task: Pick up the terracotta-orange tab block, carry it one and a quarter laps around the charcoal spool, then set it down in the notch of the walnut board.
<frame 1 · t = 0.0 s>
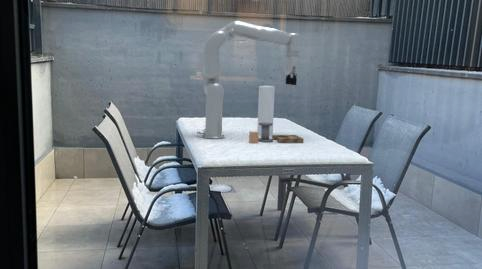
hand: (290, 84, 267), 31 cm above the table, tool pointing down, fingers open, 9 cm apart
board: (287, 141, 257), on the table
tab: (253, 142, 248), on the table
spool: (265, 141, 255), on the table
white tall cylinder: (264, 135, 278), on the table
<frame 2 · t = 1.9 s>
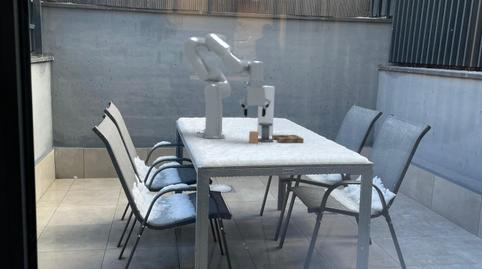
hand: (254, 116, 246), 14 cm above the table, tool pointing down, fingers open, 9 cm apart
nothing on the table moved.
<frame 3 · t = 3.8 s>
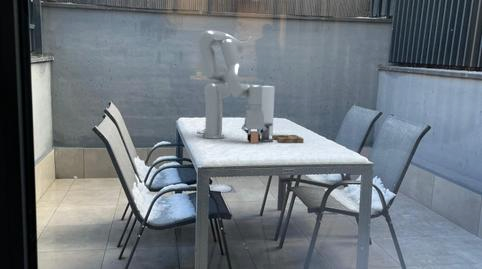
hand: (253, 141, 247), 1 cm above the table, tool pointing down, fingers closed on tab, 3 cm apart
tab: (253, 142, 247), on the table, touching gripper
everything else where it was.
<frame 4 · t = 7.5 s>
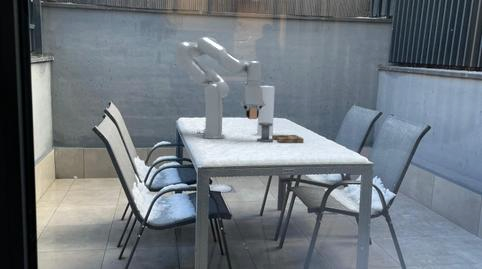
hand: (252, 117, 251), 13 cm above the table, tool pointing down, fingers closed on tab, 4 cm apart
tab: (252, 118, 251), point 12 cm above the table, touching gripper
everything else where it was.
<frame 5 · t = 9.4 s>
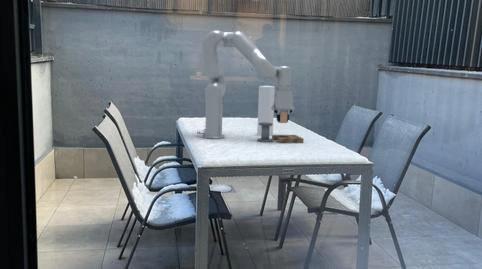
hand: (282, 121, 255), 11 cm above the table, tool pointing down, fingers closed on tab, 4 cm apart
tab: (282, 122, 255), point 10 cm above the table, touching gripper
everything else where it was.
when the fingers open (3 cm above the table, at t = 11.0 s): tab drops 2 cm, resting in board.
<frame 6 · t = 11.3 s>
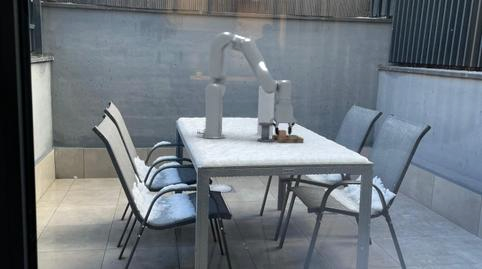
hand: (283, 134, 256), 4 cm above the table, tool pointing down, fingers open, 6 cm apart
tab: (281, 141, 257), resting in board
everything else where it was.
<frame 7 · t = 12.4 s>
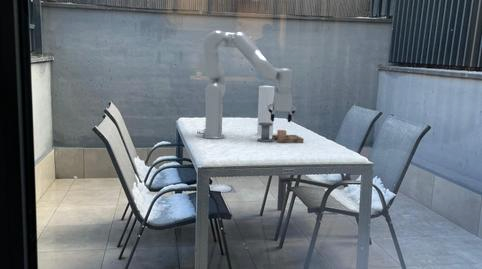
hand: (280, 121, 255), 11 cm above the table, tool pointing down, fingers open, 9 cm apart
nothing on the table moved.
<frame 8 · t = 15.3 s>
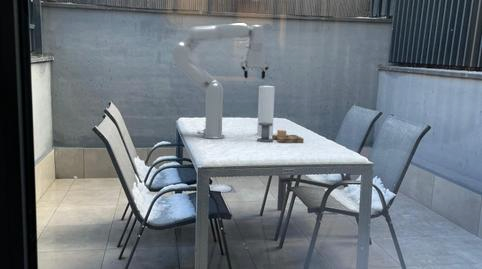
hand: (254, 78, 258), 34 cm above the table, tool pointing down, fingers open, 9 cm apart
nothing on the table moved.
at the end: tab inside the target area on the board (0.2 cm from its centre), point 0.0 cm above the board's base; the gripper is holding nothing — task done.
